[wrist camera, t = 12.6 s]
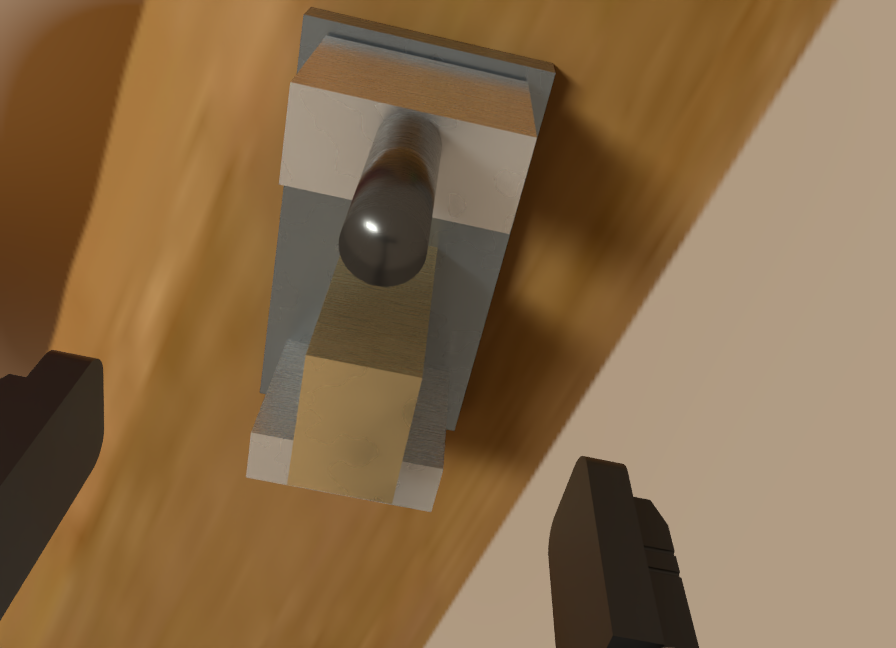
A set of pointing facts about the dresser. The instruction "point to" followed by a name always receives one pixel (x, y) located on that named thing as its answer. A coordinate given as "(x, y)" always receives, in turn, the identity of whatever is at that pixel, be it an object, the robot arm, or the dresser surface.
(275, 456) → the vise
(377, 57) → the free jaw
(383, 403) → the brass block
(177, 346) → the dresser surface
